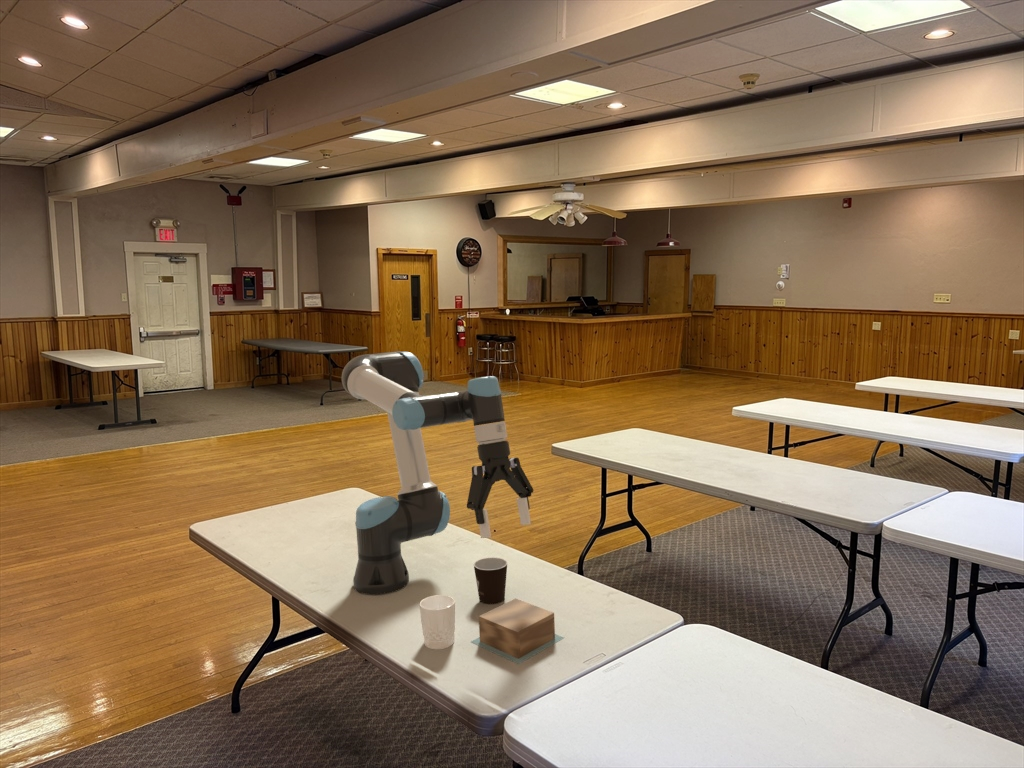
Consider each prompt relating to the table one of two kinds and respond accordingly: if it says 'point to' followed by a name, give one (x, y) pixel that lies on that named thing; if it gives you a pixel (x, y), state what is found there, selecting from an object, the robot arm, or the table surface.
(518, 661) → the mat
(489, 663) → the table surface
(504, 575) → the coffee mug
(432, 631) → the white cup
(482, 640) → the brown wooden block
